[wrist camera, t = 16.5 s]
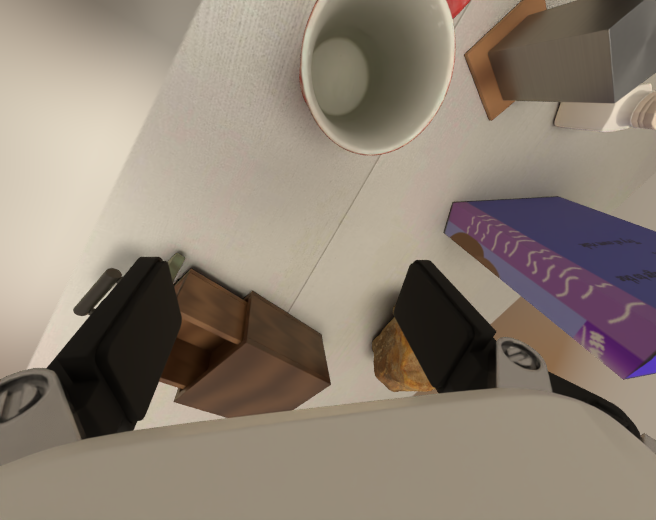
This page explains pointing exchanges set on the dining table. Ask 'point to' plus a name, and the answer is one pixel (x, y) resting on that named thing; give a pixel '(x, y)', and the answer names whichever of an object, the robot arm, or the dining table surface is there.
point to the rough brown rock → (397, 361)
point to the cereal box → (571, 271)
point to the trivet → (481, 63)
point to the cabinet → (262, 367)
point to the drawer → (189, 322)
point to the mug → (377, 69)
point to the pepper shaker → (611, 112)
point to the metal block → (578, 52)
